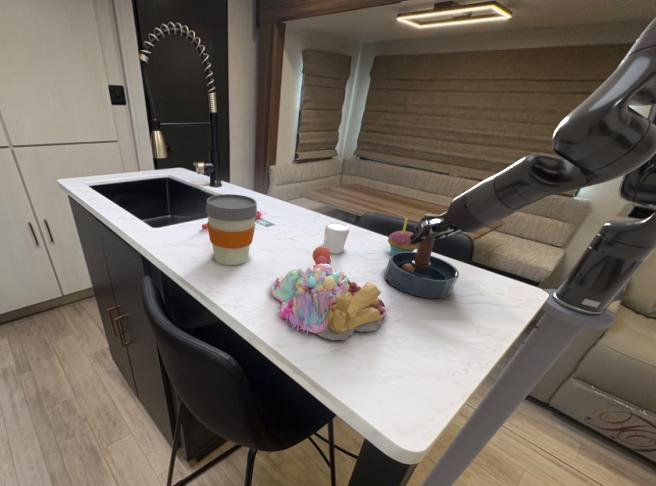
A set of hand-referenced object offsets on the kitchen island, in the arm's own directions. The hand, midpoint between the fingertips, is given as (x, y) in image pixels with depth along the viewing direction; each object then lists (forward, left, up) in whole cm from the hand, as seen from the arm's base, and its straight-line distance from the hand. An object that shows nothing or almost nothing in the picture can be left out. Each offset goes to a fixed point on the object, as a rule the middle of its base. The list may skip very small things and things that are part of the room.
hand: (418, 240), depth 72 cm
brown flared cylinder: (-1, +3, -5) cm, 6 cm away
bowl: (-2, +2, -10) cm, 11 cm away
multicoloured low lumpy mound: (+24, +12, -11) cm, 29 cm away
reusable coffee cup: (+44, -10, -11) cm, 46 cm away
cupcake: (-5, -14, -11) cm, 18 cm away
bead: (-1, -1, -8) cm, 9 cm away
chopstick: (+42, -34, -6) cm, 54 cm away
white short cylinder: (+14, -17, -11) cm, 24 cm away
